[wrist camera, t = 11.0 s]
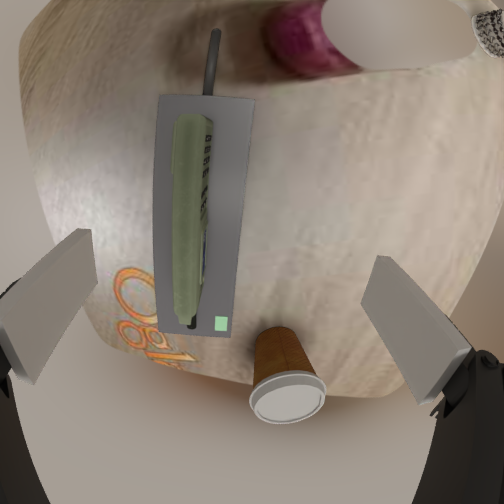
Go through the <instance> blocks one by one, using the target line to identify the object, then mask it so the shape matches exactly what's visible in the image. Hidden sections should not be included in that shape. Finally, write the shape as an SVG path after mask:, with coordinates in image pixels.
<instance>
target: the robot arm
mask: <svg viewBox="0 0 504 504" xmlns="http://www.w3.org/2000/svg"><path fill="white" fill-rule="evenodd" d="M97 283H98V281H97V274H96V267H95V260H94V252H93V243H92V233H91V229H79V228H77V229H76V230H75V231H74V232H72V233H71V234H70V235H69V236H67V237H66V238H65V239H64V240H63V241H61V242H60V243H59V244H58V245H57V246H56V247H55V248H53V249H52V250H51V251H50V252H49V253H48V254H47V255H45V256H44V257H43V258H42V259H41V260H40V261H39V262H38V263H36V265H34V266H33V267H32V268H31V269H30V270H29V271H28V272H27V273H26V274H25V275H24V276H23V277H22V278H20V279H18V280H16V281H15V282H13V283H12V284H11V285H10V286H9V287H8V288H7V289H6V291H5V292H3V293H2V294H1V295H0V504H50V502H49V500H48V498H47V496H46V494H45V491H44V489H43V487H42V484H41V482H40V480H39V477H38V475H37V472H36V470H35V467H34V465H33V462H32V459H31V457H30V453H29V450H28V448H27V444H26V441H25V438H24V435H23V431H22V427H21V424H20V420H19V416H18V412H17V408H16V403H15V398H14V393H13V388H12V382H11V379H10V377H9V375H8V372H9V370H10V369H11V367H12V369H13V371H14V372H15V374H16V376H17V378H18V379H19V380H22V381H24V382H26V383H29V384H31V385H34V384H35V383H36V380H37V379H38V377H39V375H40V373H41V371H42V369H43V368H44V366H45V364H46V362H47V361H48V359H49V357H50V355H51V354H52V352H53V350H54V349H55V347H56V345H57V344H58V342H59V340H60V339H61V337H62V335H63V334H64V332H65V330H66V329H67V327H68V326H69V324H70V323H71V321H72V320H73V318H74V317H75V315H76V314H77V312H78V310H79V309H80V308H81V306H82V305H83V303H84V302H85V300H86V299H87V297H88V296H89V295H90V293H91V292H92V290H93V289H94V287H95V286H96V285H97ZM361 305H362V307H363V308H364V310H365V312H366V313H367V315H368V317H369V318H370V320H371V322H372V323H373V325H374V326H375V328H376V330H377V331H378V333H379V335H380V337H381V338H382V340H383V342H384V343H385V345H386V347H387V348H388V350H389V352H390V354H391V355H392V357H393V359H394V361H395V362H396V364H397V366H398V368H399V370H400V371H401V373H402V375H403V377H404V379H405V381H406V382H407V384H408V386H409V388H410V390H411V392H412V394H413V395H414V397H415V399H416V401H417V403H418V405H422V404H425V403H429V402H433V401H434V399H435V398H436V397H437V396H438V394H439V393H440V392H441V391H442V392H443V394H444V395H445V396H444V398H443V399H442V400H441V401H440V402H439V404H438V405H437V406H436V407H435V408H434V409H433V411H432V412H431V414H430V416H433V415H434V413H435V412H436V411H438V414H437V415H436V417H435V418H437V422H436V426H435V431H434V435H433V439H432V443H431V447H430V451H429V454H428V458H427V461H426V465H425V468H424V471H423V474H422V477H421V480H420V483H419V486H418V489H417V491H416V494H415V497H414V499H413V502H412V504H504V364H503V363H499V360H498V359H497V358H496V357H495V356H494V355H493V354H492V353H489V352H488V351H485V350H479V351H477V352H476V351H475V350H474V348H473V347H472V346H471V344H470V343H469V342H468V341H467V339H466V338H465V337H464V336H463V334H462V333H461V332H460V331H458V329H457V327H456V326H455V325H454V324H453V323H452V322H451V320H450V319H449V318H448V317H447V316H446V315H445V314H444V313H443V312H442V311H441V310H440V309H439V308H438V307H437V305H436V304H435V303H434V302H433V301H432V300H431V299H430V298H429V297H428V296H427V294H426V293H425V292H424V291H423V290H422V289H421V288H420V287H419V286H418V285H417V284H416V283H415V282H414V281H413V280H412V279H411V278H410V276H409V275H408V274H407V273H406V272H405V271H404V270H403V269H402V268H401V267H400V266H399V265H398V264H397V263H396V262H395V261H394V260H393V259H392V258H391V257H388V256H379V255H377V257H376V261H375V264H374V267H373V270H372V273H371V276H370V279H369V282H368V284H367V287H366V290H365V293H364V296H363V298H362V301H361Z"/></svg>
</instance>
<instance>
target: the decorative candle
mask: <svg viewBox="0 0 504 504" xmlns="http://www.w3.org/2000/svg"><path fill="white" fill-rule="evenodd" d="M471 25H472V29H473V33H474V35H475V37H476V39H477V41H478V43H479V45H480V46H481V47H482V49H483V50H484V51H485V52H486V53H487V54H488V55H489V56H490V57H493V58H497V57H500V56H501V57H502V58H503V57H504V10H502V9H499V10H497V11H495V10H493V11H491V12H488V11H487V12H485V13H480V14H478V15H475V16H473V17H472V19H471Z"/></svg>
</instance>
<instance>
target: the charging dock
mask: <svg viewBox="0 0 504 504" xmlns="http://www.w3.org/2000/svg"><path fill="white" fill-rule="evenodd" d="M220 36H221V30H220V29H217V28H216V29H213V30H212V34H211V40H210V46H209V53H208V60H207V67H206V74H205V82H204V90H203V95H160V96H159V105H158V115H157V126H156V139H155V155H154V176H153V256H154V278H155V293H156V307H157V318H158V328H159V332H163V333H173V334H184V335H196V336H209V337H225V338H230V337H231V326H232V314H233V304H234V293H235V282H236V272H237V262H238V251H239V241H240V231H241V222H242V212H243V202H244V193H245V184H246V174H247V165H248V156H249V147H250V139H251V130H252V121H253V113H254V104H255V99H246V98H235V97H222V96H212V93H213V85H214V77H215V70H216V62H217V55H218V49H219V42H220ZM180 114H201V115H203V116H205V117H207V118H209V119H210V120H212V122H213V131H212V143H211V155H210V168H209V183H208V199H207V220H208V235H207V256H206V269H205V273H204V285H203V289H202V294H201V298H200V303H199V307H198V309H197V312H196V320H197V327H196V328H195V329H193V330H191V329H188V328H187V325H186V324H180V323H179V318H178V315H176V314H175V312H174V309H173V289H172V187H173V174H172V173H171V170H170V164H171V147H172V134H173V124H174V122H175V121H177V118H178V117H179V115H180Z"/></svg>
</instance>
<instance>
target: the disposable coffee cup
mask: <svg viewBox="0 0 504 504" xmlns="http://www.w3.org/2000/svg"><path fill="white" fill-rule="evenodd" d="M325 394H326V386H325V384H324V382H323V381H322V380H321V379H320V378H319V377H318V376H317V375H316V373H315V372H314V369H313V367H312V365H311V363H310V361H309V359H308V357H307V355H306V354H305V352H304V350H303V348H302V346H301V344H300V343H299V340H298V338H297V336H296V334H295V333H294V332H293V331H292V330H290V329H288V328H285V327H274V328H270V329H268V330H266V331H264V332H262V333H261V334H260V335H259V336H258V338H257V340H256V344H255V362H254V379H253V391H252V393H251V396H250V399H249V402H250V406H251V408H252V409H253V410H254V412H255V414H256V416H257V417H258V418H259V419H261V420H263V421H265V422H268V423H273V424H288V423H293V422H297V421H300V420H303V419H306V418H308V417H310V416H312V415H313V414H315V413H316V412H317V411H318V410H319V409H320V408H321V407H322V405H323V404H324V401H325Z"/></svg>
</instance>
